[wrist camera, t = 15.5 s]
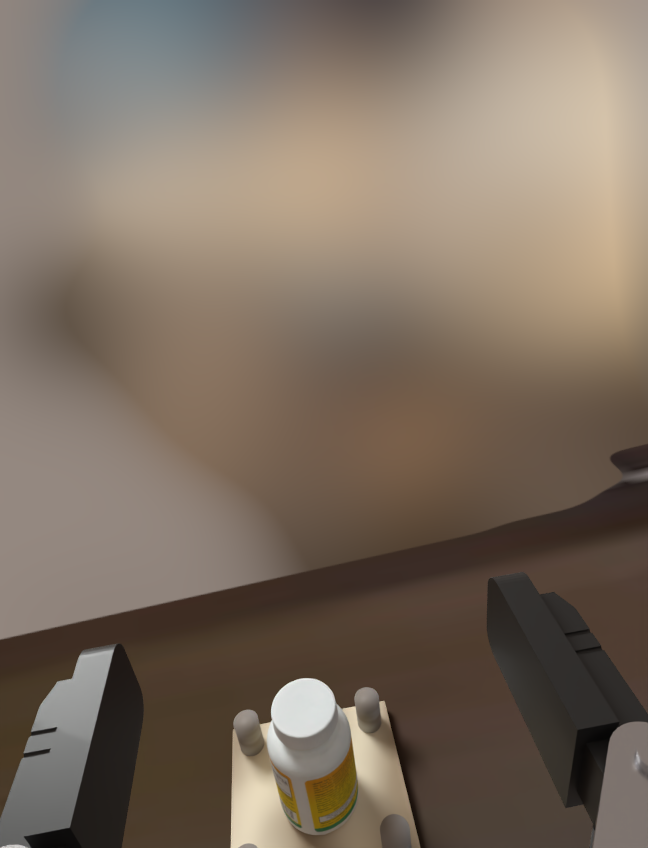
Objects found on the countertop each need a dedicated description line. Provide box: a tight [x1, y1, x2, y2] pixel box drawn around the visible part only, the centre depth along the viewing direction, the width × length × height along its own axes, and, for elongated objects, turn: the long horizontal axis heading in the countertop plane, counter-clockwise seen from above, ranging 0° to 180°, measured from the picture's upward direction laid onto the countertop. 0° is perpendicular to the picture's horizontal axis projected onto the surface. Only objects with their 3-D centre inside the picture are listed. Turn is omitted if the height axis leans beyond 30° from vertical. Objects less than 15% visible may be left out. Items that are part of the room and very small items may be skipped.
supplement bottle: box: [267, 678, 358, 835], centre depth 37 cm, size 5×5×10 cm
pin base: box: [231, 687, 420, 848], centre depth 39 cm, size 12×12×4 cm
